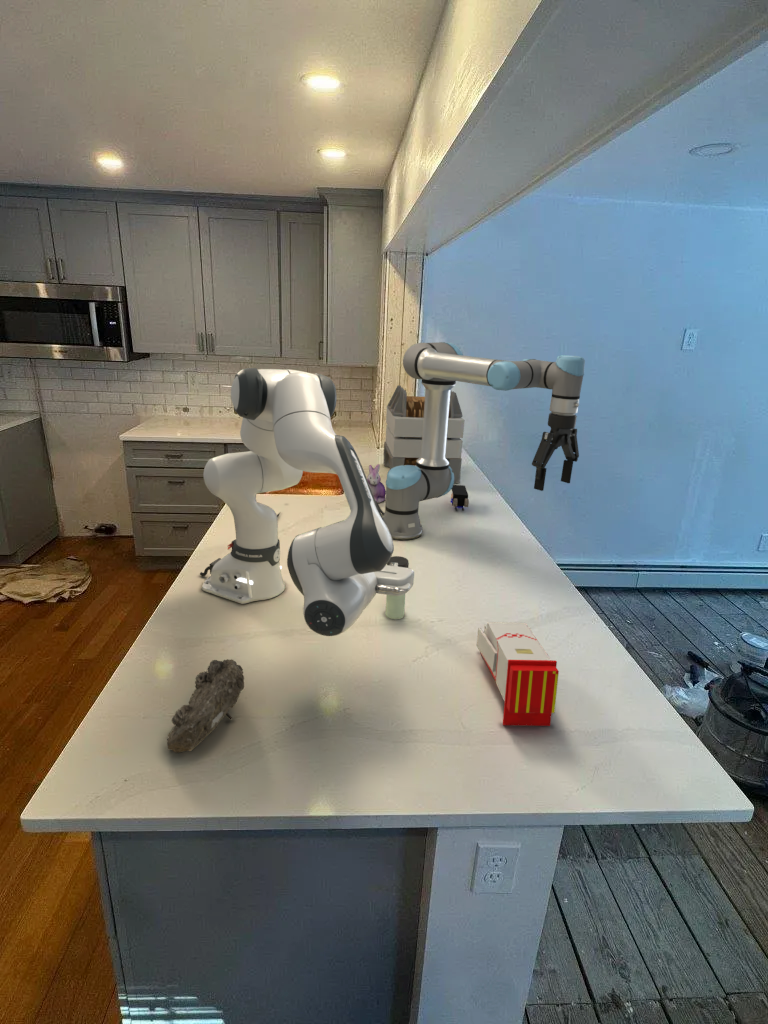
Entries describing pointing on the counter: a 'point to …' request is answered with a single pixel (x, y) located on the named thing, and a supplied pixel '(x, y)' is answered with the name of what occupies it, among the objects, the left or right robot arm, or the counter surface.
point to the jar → (395, 606)
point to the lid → (399, 561)
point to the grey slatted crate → (419, 431)
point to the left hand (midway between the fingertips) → (372, 563)
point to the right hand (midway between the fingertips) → (552, 485)
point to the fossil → (206, 705)
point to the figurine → (376, 484)
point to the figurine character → (459, 497)
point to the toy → (520, 672)
